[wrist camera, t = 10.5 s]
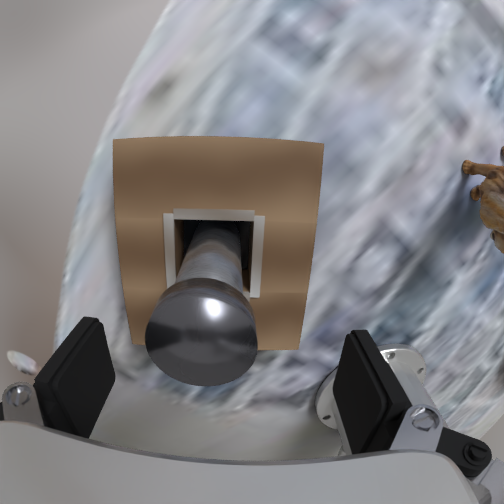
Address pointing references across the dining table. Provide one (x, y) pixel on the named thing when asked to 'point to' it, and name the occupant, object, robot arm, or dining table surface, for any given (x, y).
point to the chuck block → (219, 208)
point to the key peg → (205, 313)
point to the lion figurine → (490, 197)
